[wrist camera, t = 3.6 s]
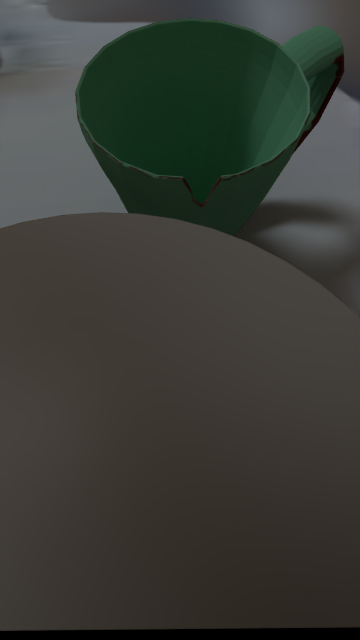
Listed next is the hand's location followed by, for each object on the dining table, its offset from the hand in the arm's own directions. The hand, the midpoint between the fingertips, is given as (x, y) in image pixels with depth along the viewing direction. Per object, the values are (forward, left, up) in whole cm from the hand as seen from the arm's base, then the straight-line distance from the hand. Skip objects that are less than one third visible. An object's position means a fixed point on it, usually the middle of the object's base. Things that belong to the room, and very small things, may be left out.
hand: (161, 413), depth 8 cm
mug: (+12, +8, -10) cm, 18 cm away
